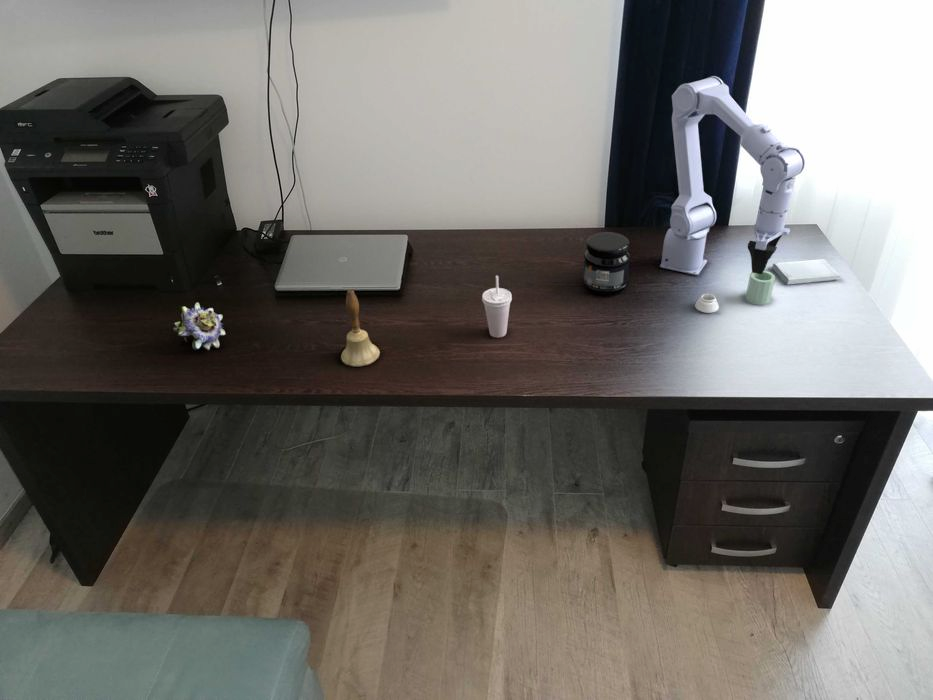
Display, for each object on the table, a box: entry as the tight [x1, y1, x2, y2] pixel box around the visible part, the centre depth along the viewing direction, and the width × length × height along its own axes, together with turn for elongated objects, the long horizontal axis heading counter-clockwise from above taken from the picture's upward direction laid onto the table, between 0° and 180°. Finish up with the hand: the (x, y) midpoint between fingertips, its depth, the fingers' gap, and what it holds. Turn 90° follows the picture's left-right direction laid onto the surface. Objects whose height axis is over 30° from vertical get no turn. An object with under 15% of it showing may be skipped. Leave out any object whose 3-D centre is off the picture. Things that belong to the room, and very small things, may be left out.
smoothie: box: [481, 275, 513, 338], centre depth 154 cm, size 6×6×14 cm
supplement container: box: [582, 231, 631, 296], centre depth 168 cm, size 10×10×12 cm
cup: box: [745, 270, 776, 306], centre depth 161 cm, size 5×5×6 cm
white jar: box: [694, 293, 720, 314], centre depth 160 cm, size 5×3×5 cm
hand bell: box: [340, 289, 381, 368], centre depth 149 cm, size 8×8×16 cm
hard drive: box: [771, 258, 841, 285], centre depth 170 cm, size 2×8×12 cm
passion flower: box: [171, 302, 226, 351], centre depth 159 cm, size 11×11×12 cm
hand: (761, 265), depth 158 cm, fingers open, 7 cm apart
